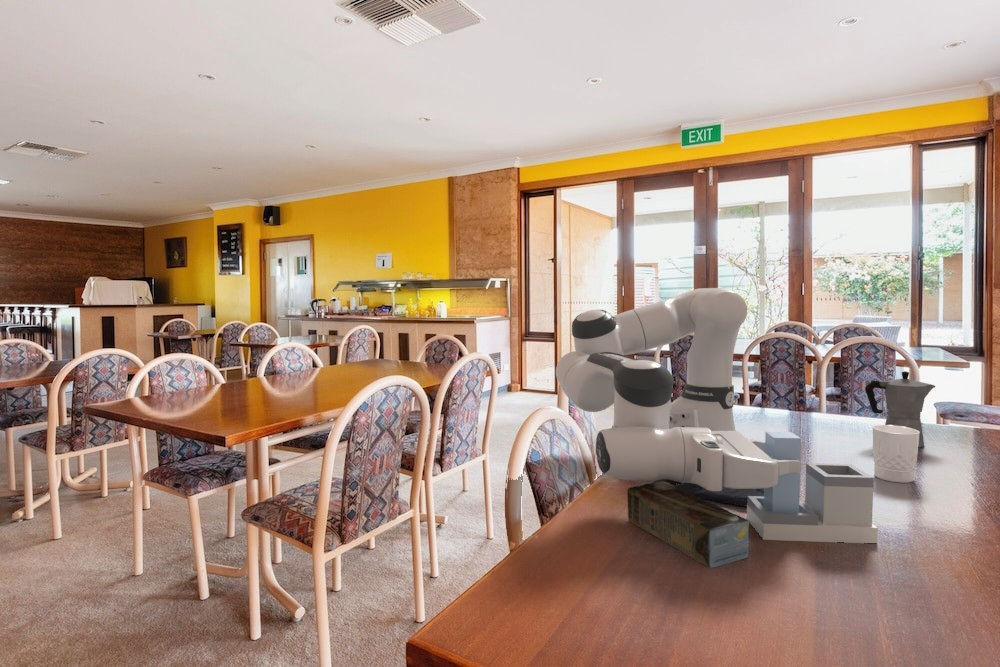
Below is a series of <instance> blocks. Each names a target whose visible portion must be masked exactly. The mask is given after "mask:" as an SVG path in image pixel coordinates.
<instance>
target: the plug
mask: <svg viewBox="0 0 1000 667" xmlns="http://www.w3.org/2000/svg"><path fill="white" fill-rule="evenodd" d="M764 442H765V453H766V454H767V455H768V456H769V457H771V458H772V459H777V460H786V458H790V459H797V460H798V461H800V462H801V458H802V457H803V441H802V438H801V437H800V436H799V435H797V434H795V433H793V432H791V431H765V439H764ZM801 463H802V462H801ZM800 487H801V472H799V473H787V474H783V475H780V476H778V484H777V485H776V486H773V487H770V488H764V508H765V509H766V510H767V511H768V512H787V513H799V499H800V497H801V496H800V493H801V490H800V489H801V488H800ZM800 500H801V499H800Z"/></svg>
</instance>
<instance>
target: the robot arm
mask: <svg viewBox="0 0 1000 667" xmlns="http://www.w3.org/2000/svg"><path fill="white" fill-rule="evenodd" d="M747 316H748V306H747V303H746V300H745V299H744V298H743V296H742V295H740V294H738V293H737V292H735V291H734V290H731V289H729V288H725V287H705V288H704V287H702V288H701V287H700V288H696V289H692V290H689V291H686V292H683V293H681V294H678V295H675V296H672V297H669V298H666V299H664V300H660V301H658V302H655V303H654V302H653V303H650V304H646V305H643V306H640V307H636V308H632V309H630V310H626V311H623V312H621V313H618V314H616V315H612V314H611V313H610V312H608V311H606V310H604V309H590V310H586V311H584V312H582V313H580V314H578V315H576V317H575V318H574V319H573V320H572V322H571V335H572V337H573V343H574V349H575V351H570V352H568V353H566V354H564V355H562V356H561V358H560V359H559V361H558V362H557V364H556V368H555V375H556V380H557V382H558V384H559V387H560V388H561V390H562V392H563V393H564V395H565V396H566V397H567V399H569V400H570V401H571V403H572V404H574V406H576V407H577V408H578V409H580V410H581V411H582V410H583V411H584V412H588V413H598V412H602V411H605V410H607V409H608V408H610V407H611V406H613V425H612V426H611V428H606V429H605V428H604V429H601V430H599V431H598V433H597V436H596V439H595V452H596V453H595V454H596V461H597V466H598V468H599V470H600V471H601V473H602V474H603V475H604V476H607V477H609V478H613V479H618V480H619V479H620V480H626V481H635V482H654V481H658V480H663V479H668V480H673V481H676V482H687V483H692V484H697V485H699V486H702V487H703V488H705V489H707V490H709V491H721V490H722V486H724V487H726V488H732V489H758V488H770V487H773V486H776V485H777V484H778V476H780V475H783V474H787V473H799V472H800V473H801V472H802V465H803V464H802V462H800V461H798V460H797V459H790V458H786V460H777V459H772V458H771V457H769V456H768V455H767V454H766V453H765V441H762V440H761V441H760V440H757V439H749V438H748V437H746V436H745V435H744V434H743V433H742V432H740V431H737V430H736V426H735V421H734V409H733V408H734V404H735V402H734V401H735V400H734V399H735V388H734V387H735V386H734V384H733V363H734V353H735V352H734V351H735V347H736V343H737V339H738V336H739V332H740V328H741V325H743V323H744V322H745V320H746V318H747ZM690 335H693V338H692V341H691V346H690V348H689V349H688V352H687V354H686V355H687V356H686V382H684V383H683V384H681V385H678V386H677V387H678V389H677V391H681V392H680V396H679V397H677V399H674V400H673V401H672V402H671V398H672V395H673V387H674V381H675V379H674V376H673V375H672V373H671V372H670V371H669V369H668V368H667V367H666V366H664V365H663V364H662V363H660V362H657V361H654V360H648V359H640V358H639V359H638V358H634V357H632V356H630V355H632V354H637V353H642V352H646V351H648V350H652V349H656V348H661V347H662V346H666V345H670V344H674V343H675V342H677V341H679V340H680V339H682V338H685V337H688V336H690ZM628 355H629V356H628Z"/></svg>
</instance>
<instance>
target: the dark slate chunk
mask: <svg viewBox="0 0 1000 667" xmlns="http://www.w3.org/2000/svg"><path fill="white" fill-rule="evenodd" d="M659 481H664V482H666V483H669V484H671V485H674V486H676V487H678V488H680V489H682V490H684V491H687V492H689V493H691V494H693V495H695V496H698V497H700V498H701V497H702V499H705V498H706V499H705V500H711V499H713V500H715V501H714V502H720V503H725V502H726V503H725V504H728V503H729V504H728V505H735V504H736V505H735V506H743V507H747V500H748V496H764V488H758V489H732V488H726V487H724V486H722V490H721V491H709V490H707V489H705V488H703V487H702V486H699V485H697V484H692V483H687V482H682V483H681V482H676V481H673V480H668V479H663V480H658V481H652V483H656V482H659ZM679 483H680V484H679ZM676 484H677V485H676ZM713 500H712V501H713Z"/></svg>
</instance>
